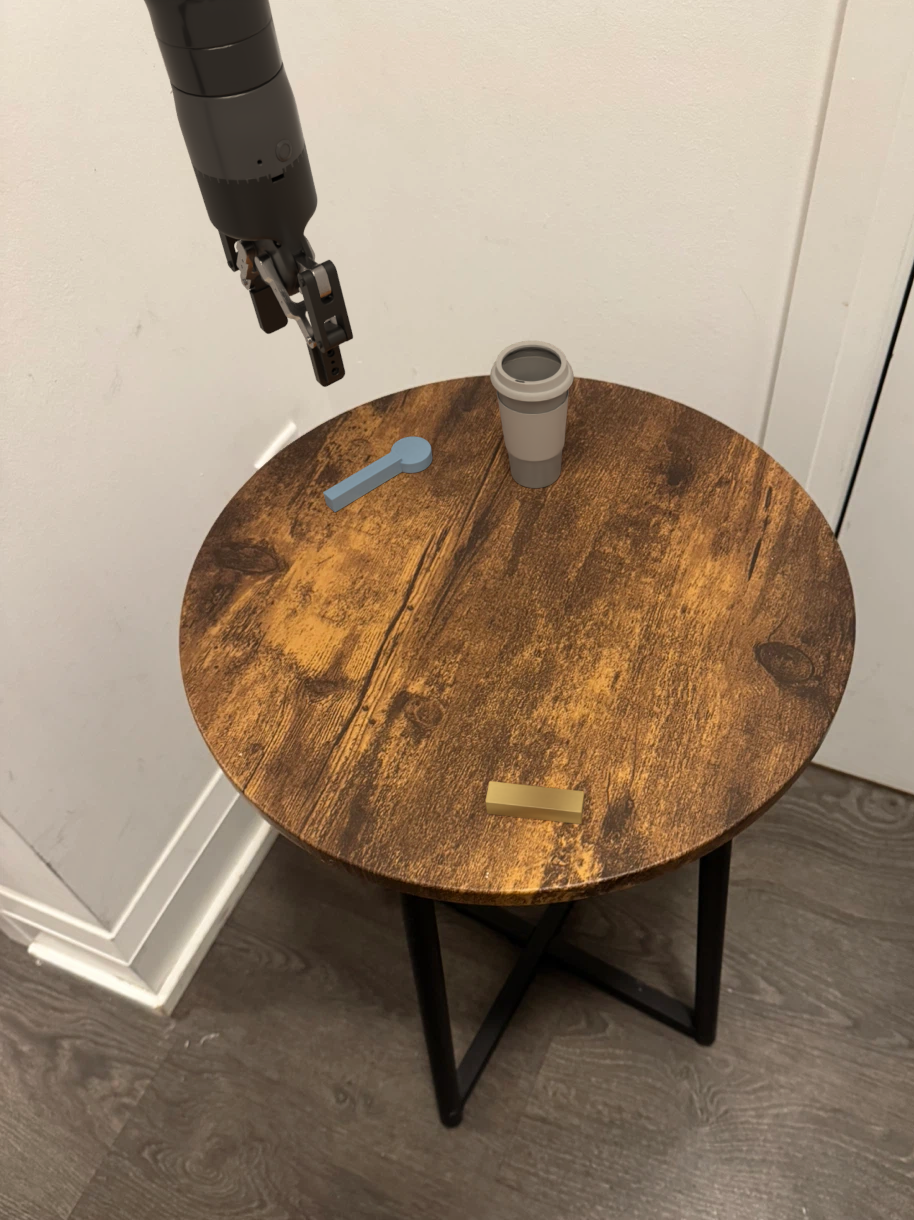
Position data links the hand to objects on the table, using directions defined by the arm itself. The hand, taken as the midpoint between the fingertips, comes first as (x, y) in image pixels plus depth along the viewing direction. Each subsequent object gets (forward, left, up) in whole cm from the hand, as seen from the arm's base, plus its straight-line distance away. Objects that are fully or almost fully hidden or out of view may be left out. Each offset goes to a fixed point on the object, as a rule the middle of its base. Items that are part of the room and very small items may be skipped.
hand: (303, 353), depth 81 cm
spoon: (+3, +2, -16) cm, 17 cm away
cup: (+18, +1, -16) cm, 25 cm away
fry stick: (+13, -34, -16) cm, 40 cm away
